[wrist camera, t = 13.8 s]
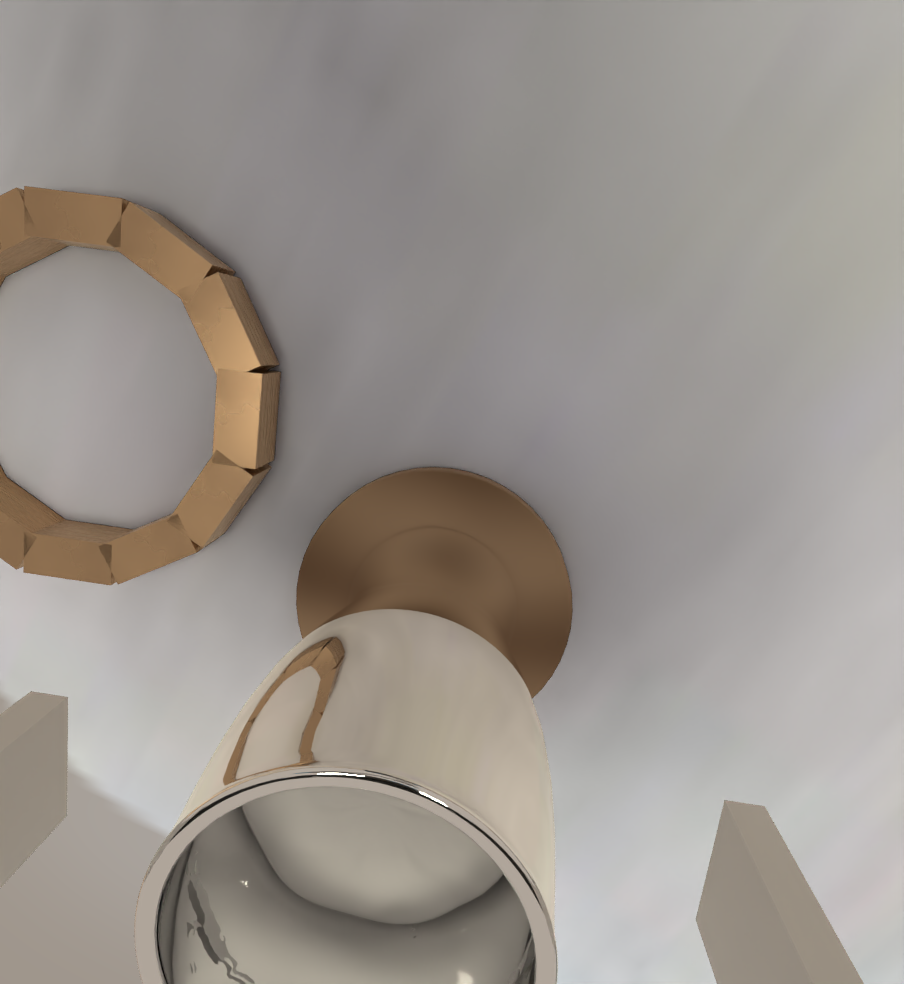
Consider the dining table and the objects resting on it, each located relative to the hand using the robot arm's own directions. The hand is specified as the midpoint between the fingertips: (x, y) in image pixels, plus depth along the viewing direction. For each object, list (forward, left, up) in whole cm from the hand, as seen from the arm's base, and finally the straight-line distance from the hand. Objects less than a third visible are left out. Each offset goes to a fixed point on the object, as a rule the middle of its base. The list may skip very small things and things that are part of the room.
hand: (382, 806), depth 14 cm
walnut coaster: (0, 0, -13) cm, 13 cm away
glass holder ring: (-6, -13, -13) cm, 19 cm away
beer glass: (0, 0, -12) cm, 12 cm away
